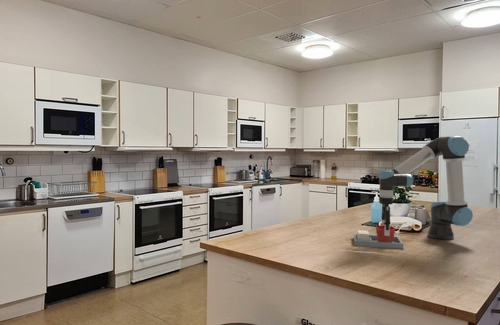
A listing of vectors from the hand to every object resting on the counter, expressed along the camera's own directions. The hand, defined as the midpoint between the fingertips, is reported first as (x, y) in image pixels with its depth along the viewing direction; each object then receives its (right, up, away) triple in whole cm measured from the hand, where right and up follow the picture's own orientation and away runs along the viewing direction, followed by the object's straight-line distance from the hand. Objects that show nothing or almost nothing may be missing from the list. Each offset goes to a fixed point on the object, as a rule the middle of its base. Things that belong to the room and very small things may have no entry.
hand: (385, 233), depth 214 cm
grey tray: (-4, -7, +1) cm, 8 cm away
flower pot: (0, -6, 0) cm, 6 cm away
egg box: (-12, -6, +3) cm, 14 cm away
